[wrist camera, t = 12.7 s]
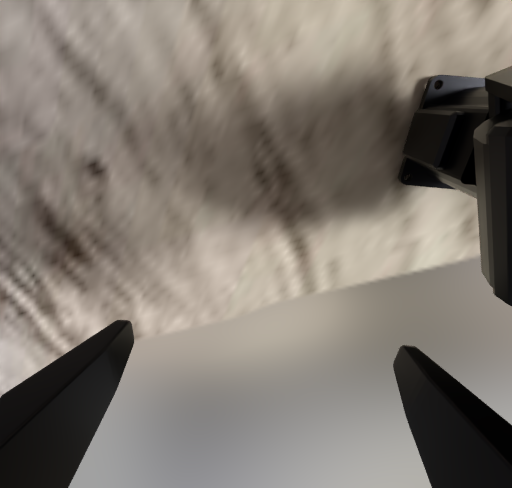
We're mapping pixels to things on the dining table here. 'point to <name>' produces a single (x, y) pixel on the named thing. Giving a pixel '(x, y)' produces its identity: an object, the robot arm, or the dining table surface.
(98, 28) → the dining table surface
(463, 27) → the dining table surface
